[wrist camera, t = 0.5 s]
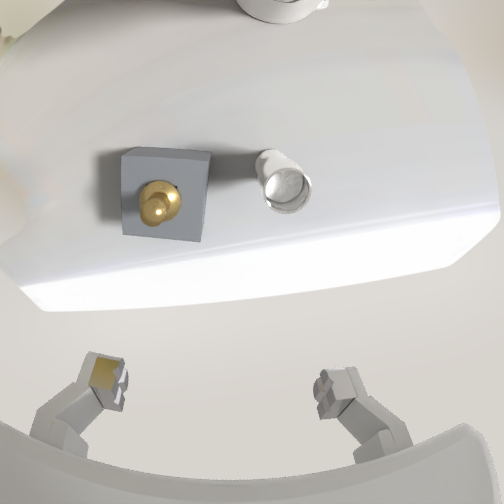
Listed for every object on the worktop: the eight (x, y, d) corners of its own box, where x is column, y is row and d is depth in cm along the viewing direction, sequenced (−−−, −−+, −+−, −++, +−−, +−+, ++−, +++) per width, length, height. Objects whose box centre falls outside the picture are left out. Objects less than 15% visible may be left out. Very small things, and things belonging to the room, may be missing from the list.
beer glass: (261, 189, 50) (274, 223, 38) (245, 156, 47) (252, 179, 34) (295, 174, 49) (319, 203, 37) (281, 140, 46) (302, 157, 33)
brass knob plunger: (153, 167, 46) (128, 191, 34) (189, 169, 47) (176, 194, 35) (152, 201, 49) (130, 234, 38) (186, 204, 50) (174, 238, 39)
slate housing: (136, 146, 44) (121, 155, 37) (211, 151, 46) (208, 161, 39) (135, 215, 51) (122, 234, 44) (203, 222, 53) (200, 242, 46)
